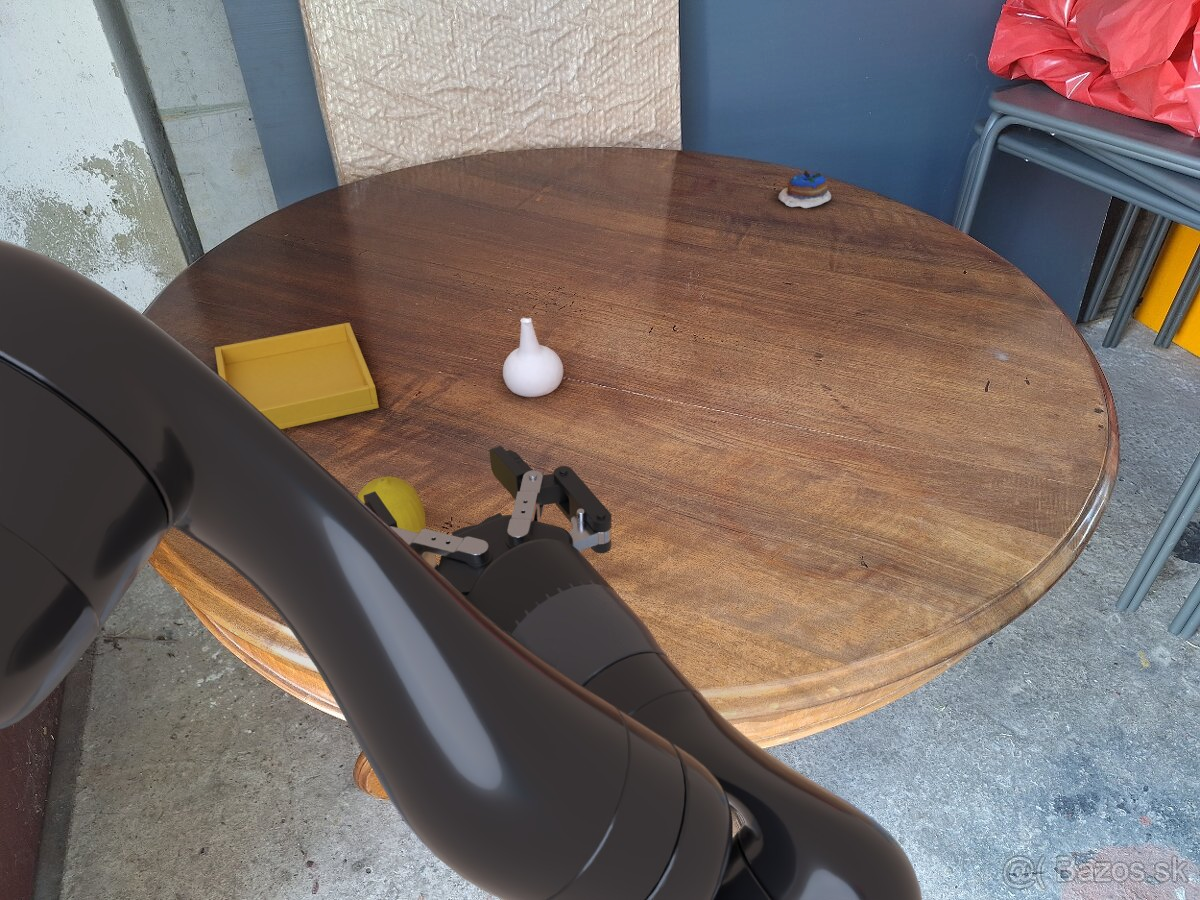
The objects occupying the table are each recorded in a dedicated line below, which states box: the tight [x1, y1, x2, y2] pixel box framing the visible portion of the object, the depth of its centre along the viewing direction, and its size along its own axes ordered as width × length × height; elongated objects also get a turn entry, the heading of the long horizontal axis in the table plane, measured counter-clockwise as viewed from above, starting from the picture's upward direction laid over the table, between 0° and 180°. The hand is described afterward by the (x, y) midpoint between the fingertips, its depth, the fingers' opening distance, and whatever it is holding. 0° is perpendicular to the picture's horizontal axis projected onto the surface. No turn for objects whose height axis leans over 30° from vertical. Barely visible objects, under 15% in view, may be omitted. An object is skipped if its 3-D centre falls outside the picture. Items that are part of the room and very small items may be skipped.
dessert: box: [778, 170, 832, 209], centre depth 135 cm, size 8×7×6 cm
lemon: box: [356, 475, 427, 533], centre depth 71 cm, size 6×6×8 cm
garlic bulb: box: [502, 317, 564, 398], centre depth 92 cm, size 6×6×8 cm
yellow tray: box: [214, 322, 380, 430], centre depth 93 cm, size 14×14×3 cm
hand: (434, 480), depth 57 cm, fingers open, 8 cm apart
